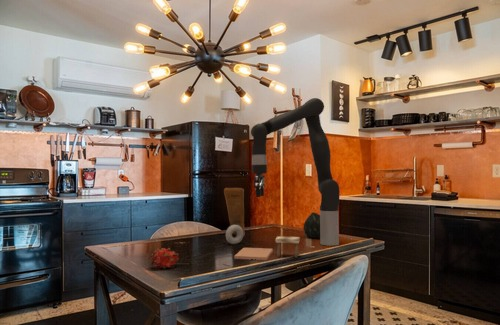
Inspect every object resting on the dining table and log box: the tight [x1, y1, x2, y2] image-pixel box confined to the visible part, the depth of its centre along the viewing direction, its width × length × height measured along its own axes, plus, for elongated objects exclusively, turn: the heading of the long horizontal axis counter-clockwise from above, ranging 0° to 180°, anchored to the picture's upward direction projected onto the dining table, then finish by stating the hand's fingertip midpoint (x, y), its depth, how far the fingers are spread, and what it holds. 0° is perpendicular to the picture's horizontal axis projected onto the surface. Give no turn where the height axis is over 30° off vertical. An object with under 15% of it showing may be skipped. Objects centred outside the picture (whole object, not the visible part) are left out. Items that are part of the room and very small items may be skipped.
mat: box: [233, 247, 274, 261], centre depth 166 cm, size 14×18×1 cm
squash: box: [302, 212, 320, 240], centre depth 210 cm, size 14×15×15 cm
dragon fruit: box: [149, 247, 181, 270], centre depth 145 cm, size 8×8×12 cm
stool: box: [275, 235, 301, 259], centre depth 163 cm, size 10×6×8 cm, turn 78°
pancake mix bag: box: [223, 187, 246, 237], centre depth 223 cm, size 7×19×28 cm, turn 34°
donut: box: [225, 225, 244, 245], centre depth 192 cm, size 10×3×10 cm, turn 119°
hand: (260, 196), depth 185 cm, fingers open, 8 cm apart
